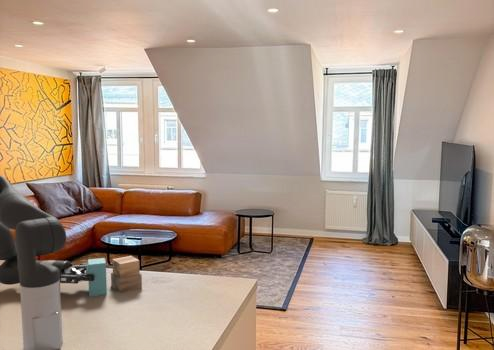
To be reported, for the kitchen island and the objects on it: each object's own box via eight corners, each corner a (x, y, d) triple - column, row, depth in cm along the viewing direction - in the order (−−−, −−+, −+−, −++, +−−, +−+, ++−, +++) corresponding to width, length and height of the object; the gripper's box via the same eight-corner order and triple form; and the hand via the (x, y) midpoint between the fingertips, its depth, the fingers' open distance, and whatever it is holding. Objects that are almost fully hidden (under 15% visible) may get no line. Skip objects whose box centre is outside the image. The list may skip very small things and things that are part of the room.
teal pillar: (106, 294, 148) (105, 263, 146) (89, 296, 146) (88, 264, 144) (105, 288, 153) (104, 257, 151) (88, 290, 151) (87, 259, 149)
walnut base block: (141, 287, 154) (141, 274, 154) (119, 293, 150) (119, 278, 149) (132, 281, 161) (132, 268, 160) (111, 286, 156) (110, 272, 155)
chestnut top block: (139, 274, 154) (139, 260, 153) (120, 278, 150) (120, 264, 149) (131, 269, 159) (131, 255, 159) (112, 272, 155) (112, 259, 155)
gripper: (41, 267, 143) (89, 269, 141) (65, 254, 157) (108, 256, 155) (43, 289, 144) (90, 292, 142) (66, 275, 158) (109, 277, 156)
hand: (99, 273), depth 148 cm, fingers closed on teal pillar, 7 cm apart
